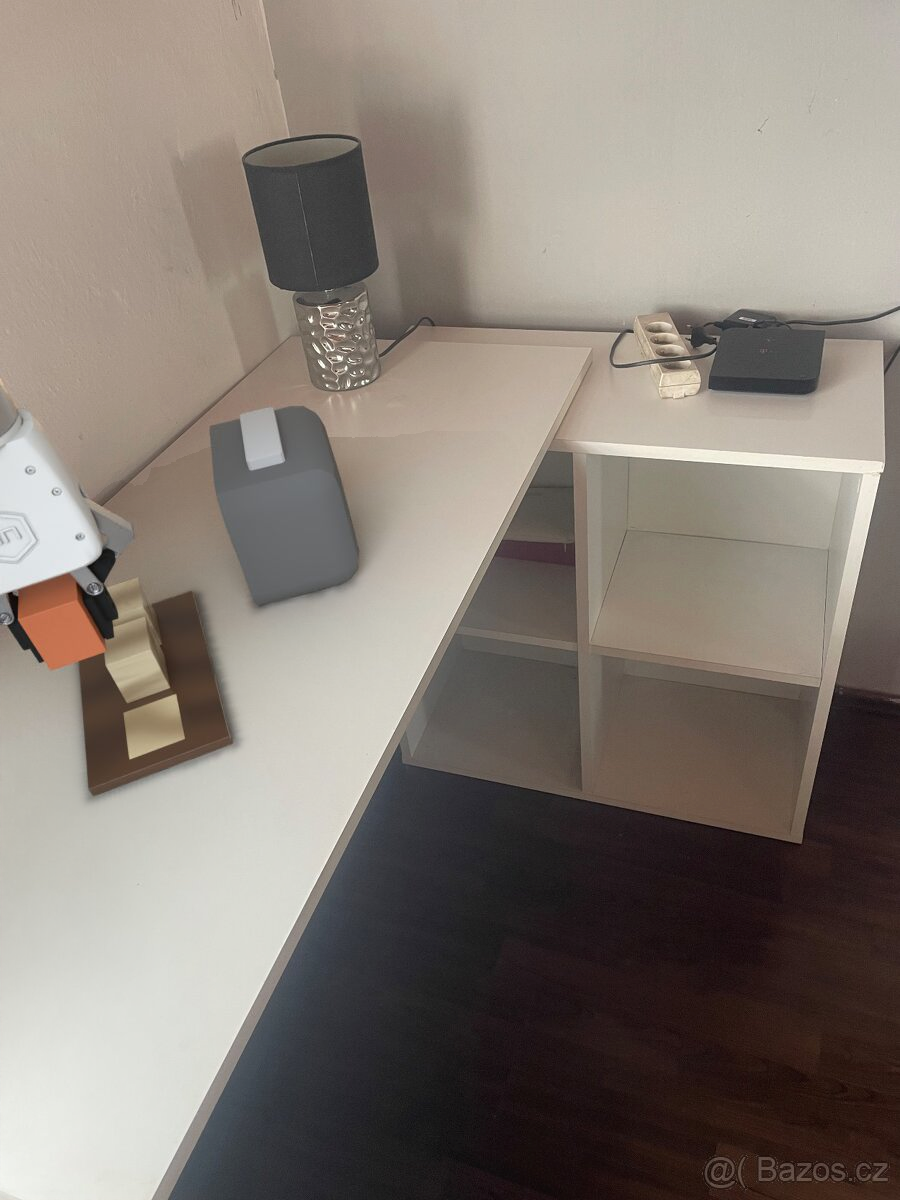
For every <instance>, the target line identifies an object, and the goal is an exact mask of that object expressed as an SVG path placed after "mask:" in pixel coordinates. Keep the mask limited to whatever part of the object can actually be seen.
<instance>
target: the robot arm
mask: <svg viewBox="0 0 900 1200" xmlns="http://www.w3.org/2000/svg"><path fill="white" fill-rule="evenodd" d="M101 534H102V535H104V537H103V539H102V535H101ZM135 539H136V534H135V528H134V525H133V524H132V523H131V522H130V521H128V520H127V519H124V518H123V517H121V516H118V514H115V513H114V512H112V511H110V510H108V509H107V508H104V506H101V505H100V504H98V503H96V502H94V501H93V500H91V499H90V497H89V495H88V493H87V492H86V490H85V487H84V486H83V485H82V482H81V481H80V480H79V478H78V476H77V475H76V474H75V472H74V470H73V468H72V466H70V463H68V461H67V459H66V458H65V456H64V455H63V453H62V452H61V450H60V448H59V447H58V446H57V444H56V443H55V442H54V440H53V439H52V437H51V436H50V434H49V433H48V432H47V430H46V429H45V428H44V427H43V426H42V425H41V423H40V422H39V421H38V420H37V418H36V417H35V416H34V415H33V414H32V413H31V411H30V410H28V409H26V408H24V407H22V408H21V407H20V408H17V406H16V405H15V403H14V401H13V398H12V397H11V395H10V393H9V391H8V389H7V387H6V385H5V384H4V382H3V380H2V378H1V377H0V626H7V628H8V629H9V631H10V632H11V634H12V635H13V637H14V639H15V640H16V642H17V644H19V646H20V648H21V649H22V650H23V651H28V650H30V651H31V653H32V655H33V656H34V658H35V660H36V661H37V662H38V663H39V664H41V663H45V661H44V660H43V658H42V657H41V655H40V653H39V652H38V650H37V649H36V647H35V646H34V644H33V643H32V641H31V639H30V638H29V636H28V635H27V633H26V632H25V630H24V629H23V627H22V626H21V624H20V622H19V621H18V595H17V594H15V591H18V589H22V588H25V587H28V586H31V585H34V584H37V583H40V582H43V581H46V580H49V579H52V578H55V577H58V576H61V575H64V574H67V573H69V574H70V575H71V576H72V577H73V578H74V579H75V580H76V582H77V583H78V584H79V585H80V586H81V590H82V593H83V602H84V604H85V606H86V608H87V610H88V612H89V613H90V615H91V617H92V619H93V621H94V622H95V624H96V626H97V628H98V629H99V631H100V633H101V635H102V636H103V638H104V639H107V640H109V639H111V638H114V629H113V620H116V619H118V618H119V617H118V611H117V608H116V605H115V603H114V601H113V599H112V598H111V596H110V594H109V592H108V590H107V586H106V585H105V582H106V580H107V579H108V577H109V575H110V573H111V571H112V570H113V568H114V566H115V564H116V562H117V561H116V560H117V559H118V558H119V556H122V554H123V553H124V552H125V551H126V550H127V549H128V547H129V546H130V545H131V544H132V543H133V541H134V540H135Z"/></svg>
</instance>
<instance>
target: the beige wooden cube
mask: <svg viewBox="0 0 900 1200" xmlns="http://www.w3.org/2000/svg"><path fill="white" fill-rule="evenodd" d="M106 588H107V590H108V592H109V594H110V596H111V598H112V599H113V601H114V603H115V605H116V608H117V611H118V617H119V618H118V619H116V620H113V627H116V626H118V625H121V624H124V623H127V622H130V621H133V620H136V619H139V618H142V617H146V619H147V621H148V623H149V625H150V627H151V629H152V631H153V633H154V635H155V637H156V639H157V642H158V644H159V645H162V642H161V637H160V631H159V626H158V621H157V616H156V613H155V611H154V609H153V607H152V605H151V604H152V602H151V600H150V599H149V597H148V594H147V593H146V591H145V588H144V586H143V583H142V582H141V580H140V578H139V576H137V577H134V578H131V579H128V580H125V581H122V582H119V583H116V584H113V585H110V586H106Z"/></svg>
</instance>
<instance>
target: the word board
mask: <svg viewBox="0 0 900 1200" xmlns="http://www.w3.org/2000/svg"><path fill="white" fill-rule="evenodd" d="M151 605H152V607H153V609H154V611H155V613H156V616H157V621H158V626H159V631H160V637H161V642H162V645H159V646H160V648H161V650H162V652H163V654H164V658H165V663H166V668H167V673H168V678H169V684H170V688H169V689H166V690H163V691H161V692H158V693H155V694H152V695H149V696H147V697H144V698H141V699H138V700H136V701H133V702H130V703H127V702H126V701H125V699H124V697H123V695H122V693H121V692H120V690H119V688H118V686H117V685H116V683H115V681H114V679H113V678H112V676H111V674H110V672H109V671H108V669H107V667H106V664H105V655H104V653H101V654H98V655H95V656H92V657H89V658H86V659H84V660H81V661H78V668H79V669H78V670H79V683H80V685H79V686H80V697H81V710H82V722H83V723H82V724H83V735H84V737H83V738H84V749H85V763H86V775H87V789H88V791H89V793H90V794H91V796H93V797H96V796H97V795H101V794H103V793H106V792H109V791H112V790H113V789H116V788H119V787H122V786H124V785H127V784H129V783H132V782H135V781H138V780H140V779H143V778H145V777H148V776H150V775H155V774H156V773H158V772H161V771H164V770H167V769H169V768H172V767H174V766H178V765H180V764H182V763H185V762H188V761H190V760H193V759H196V758H198V757H201V756H204V755H206V754H208V753H211V752H215V751H217V750H220V749H222V748H224V747H227V746H231V745H232V744H233V740H232V737H231V732H230V728H229V724H228V721H227V720H228V719H227V717H226V712H225V708H224V705H223V701H222V696H221V693H220V689H219V685H218V681H217V677H216V674H215V673H216V672H215V669H214V665H213V662H212V658H211V653H210V650H209V646H208V642H207V638H206V634H205V631H204V626H203V622H202V618H201V615H200V611H199V606H198V603H197V599H196V596H195V594H194V592H193V590H189V591H186V592H184V593H181V594H178V595H174V596H171V597H169V598H165V599H162V600H160V601H157V602H154V603H151Z"/></svg>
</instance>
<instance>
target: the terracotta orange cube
mask: <svg viewBox="0 0 900 1200" xmlns="http://www.w3.org/2000/svg"><path fill="white" fill-rule="evenodd" d="M17 591H18V592H17V593H18V595H17V596H18V621H19V622H20V624H21V626H22V627H23V629H24V630H25V632H26V633H27V635H28V636H29V638H30V639H31V641H32V643H33V644H34V646H35V647H36V649H37V650H38V652H39V653H40V655H41V657H42V658H43V660H44V661H45V662H44V663H45V665H46V666H47V668H48V669H49V671H50V672H52V671H55V670H58V669H60V668H63V667H67V666H70V665H72V664H75V663H77V662H78V663H79V661H81V660H84V659H86V658H89V657H92V656H95V655H98V654H101V653H104V652H106V651H107V650H106V640H105V639H104V638H103V636H102V635H101V633H100V631H99V629H98V628H97V626H96V624H95V622H94V621H93V619H92V617H91V615H90V613H89V612H88V610H87V608H86V606H85V604H84V602H83V593H82V590H81V586H80V585H79V584H78V583H77V582H76V580H75V579H74V578H73V577H72V576H71V575H70V574H69V573H67V574H64V575H61V576H58V577H55V578H52V579H49V580H46V581H43V582H40V583H37V584H34V585H31V586H28V587H25V588H22V589H18V590H17Z"/></svg>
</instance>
